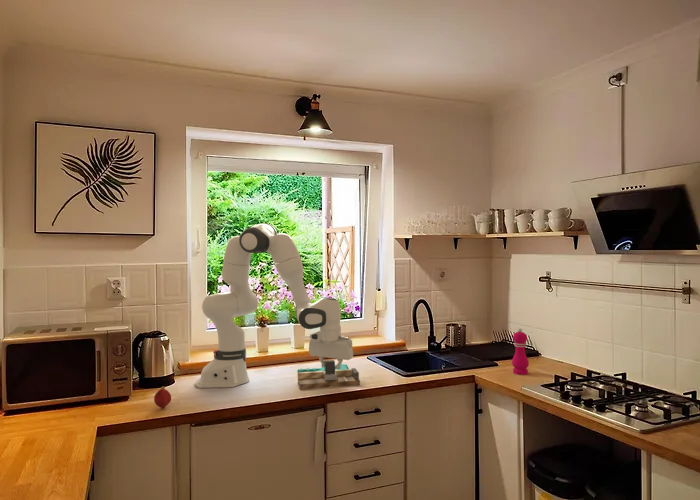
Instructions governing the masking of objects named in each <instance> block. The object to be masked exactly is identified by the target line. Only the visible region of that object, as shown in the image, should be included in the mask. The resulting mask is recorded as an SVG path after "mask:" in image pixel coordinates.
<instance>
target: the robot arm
mask: <svg viewBox="0 0 700 500" xmlns="http://www.w3.org/2000/svg"><path fill="white" fill-rule="evenodd" d="M266 252H267V253H268V254H269V255H270V257H271V258H272V261H273V264H274V266H275V269H276V271H277V273H278V274H279V277H281V279H282V281H283V282H284V283H286V285H287V287H288V288H289V290H290V293H291V295H292V298H293V300H294V303H295V318H296V320H297V322H298V324H299V325H300V326H301V327H302V328H303V329H306V330H313V329H317V328H319V331H317V332H314V333H311V334H309V339H310V340H309V341H308V343H309V345H308V353H309V355H310V356H311V357H312V356H313V357H318V359H319V362H320V363H321V368H322V367H324V368H325V366H324V360H325V358H329V359H334V360H335V359H337V362H338V363H337V364H335V367H336V369H340V368H341V364H343V360H344V361H345V360H346V361H349V360H352V359H353V357H354V350H353V349H354V348H353V340H352V339H351V338H350V337H348V336H342V327H341V319H342V318H341V316H342V313H341V304H340V301H339V300H338V299H337V298H333V297H330V296H329V297H328V296H322V297H321V298H320V299H318V300H317V301H315V302H312V301H311V299H310V297H309V295H308V294H309V293H307V289H306V287H305V284H304V278H303V277H304V266H303V261H302V258H301V255H300V253H299V250H298V248H297V246H296V244H295V242H294V240H293V239H292V237H291V236H290V235H289V234H287V233H283V232H281V233H278V231H277V229H276V228H275V227H274V225H272V224H270V223H267V222H263V223H258V224H254V225H252V226H250V227H247V228H246V229H244V230H243V231H242V232H241V233H240V235H234V236H231V237H230V238H229V239H228V242H227V245H226V248H225V251H224V256H223V263H222V270H221V278H222V280H223V282H224V283H226V284H227V285H229V287H230V288H229V291H226V292H216V293H213V294H211V295H207V296H205V297H204V299H203V301H202V306H201V309H202V313H203V315H204V316H206V318H207V319H209V320H210V321H211V322H212V323H213V324H214V326H215V329H216V332H217V339H218V349H217V348H215V349H214V350H213V351H212V352H213V359H212V360H211V361H210V362H208V363H207V364H206V365H205V366H204V367H203V368H202V369H201V370H202V371H201V372H200V373H201V374H200V377H199V378H198V379H196V380H195V387H197V388H199V389H201V388H202V389H203V388H205V389H207V388H208V389H210V388H211V389H212V388H234V387H237V386H240V385H243V384H246V383H248V382H249V381H250V377H249V375H248V371H247V364H246V363H247V362H246V361H247V349H246V347H245V345H246V344H245V343H246V342H245V337H246V335H245V331H244V328H243V327H241V326H240V325H239V326H238V325H236V323H235V320H234V318H235V317H242V316H243V317H244V316H248V315H250V314H253V313H254V312H256V311H257V309H258V308H259V307H258V306H259V299H258V296H257V294H255V292H253V291H252V289H251V287H250V284H249V275H250V265H251V260H252V259H251V258H252V254H265V253H266Z"/></svg>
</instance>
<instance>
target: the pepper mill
mask: <svg viewBox="0 0 700 500" xmlns="http://www.w3.org/2000/svg"><path fill="white" fill-rule="evenodd" d="M512 340H513V341H514V343H513V344H514V346H513V347H515V352H514V354H513V357H512V359H511V365H512V367H513V368H512V372H513V374H514V375H517V376H518V375H519V376H523V375H524V376H525V375H528V373H529V371H528V370H529V369H528V367H529V365H530V363H529V359H528V357H527V355H526V350H525V349H526V347H527V341H528V336H527V334H526V333H525V332H523V329H522V328H520V327H518V329H517V331H516V332H515V333H514V334H513V335H512Z"/></svg>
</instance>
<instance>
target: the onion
mask: <svg viewBox="0 0 700 500" xmlns="http://www.w3.org/2000/svg"><path fill="white" fill-rule="evenodd" d="M165 388H166V387H165V386H161V388H160V389H158V391H157V392H156V393H155V394H154V396H153V397H154V398H153V401H154V404H155V405H156V406H157V407H158V408H160V409H165V408H166V407H167V406H168V405H169V404H170V403H171V401H172V395H171V393H170V392H169V390H167V389H165Z"/></svg>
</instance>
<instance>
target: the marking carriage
mask: <svg viewBox="0 0 700 500" xmlns="http://www.w3.org/2000/svg"><path fill="white" fill-rule="evenodd" d="M335 365H336V361H335V359H327V360H325V359H324V366H325V371H323V378H324V380H325V381H328V380H338V377H337V374H336V372H335Z"/></svg>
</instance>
